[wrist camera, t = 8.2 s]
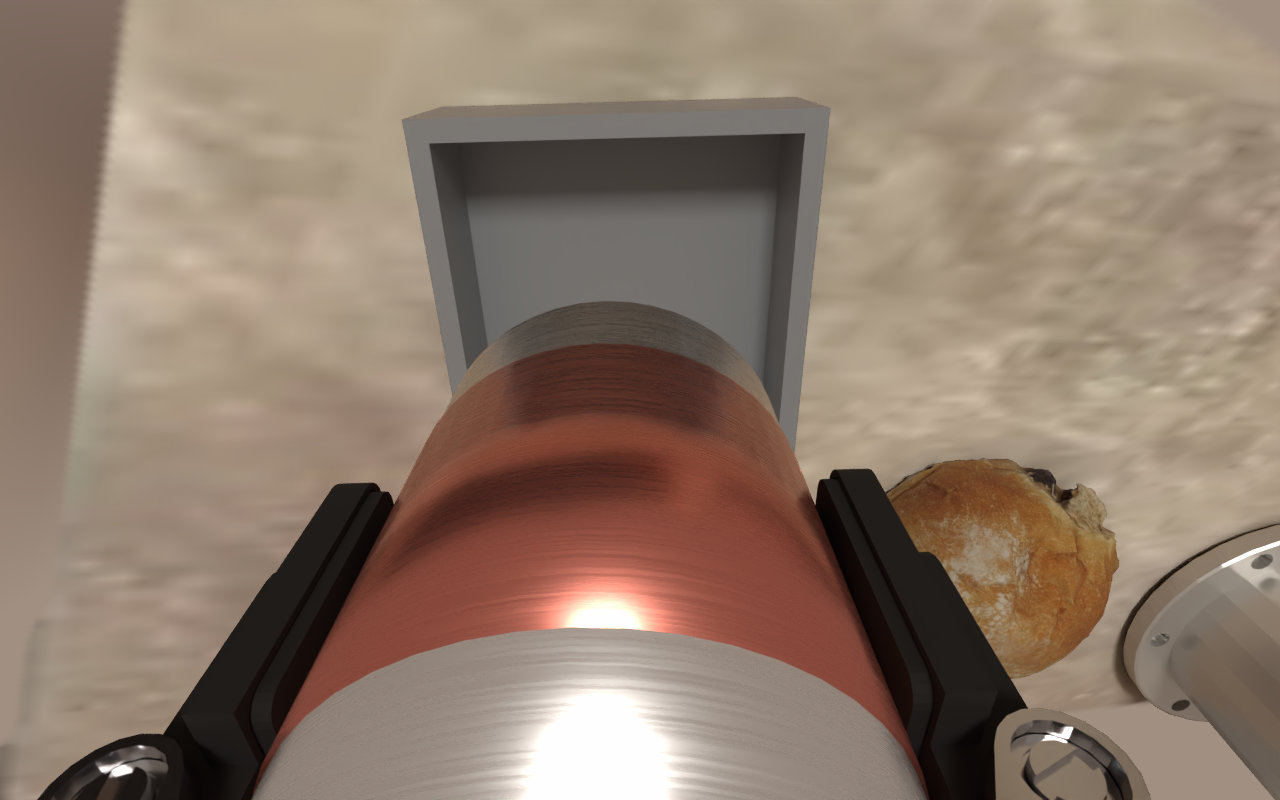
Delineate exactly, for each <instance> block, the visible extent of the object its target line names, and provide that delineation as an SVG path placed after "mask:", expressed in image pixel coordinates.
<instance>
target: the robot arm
mask: <svg viewBox="0 0 1280 800" xmlns="http://www.w3.org/2000/svg"><path fill="white" fill-rule="evenodd" d="M393 506H394V503H393V500H392V497H391V495H390V493H389V492H381V491H380V488H379V487H378V485H377V484H375V483H347V484H337V485H335V486H334V487H333V488H332V489H331V491H330V492H329V494H328V495H327V497H326V498H325V500H324V501H323V503H322V504H321V506H320V507H319V509H318V510H317V512H316V513H315V515H314V516H313V518H312V519H311V521H310V522H309V524H308V525H307V527H306V528H305V530H304V531H303V533H302V534H301V536H300V537H299V539H298V540H297V542H296V543H295V545H294V546H293V548H292V549H291V551H290V552H289V554H288V555H287V557H286V558H285V560H284V561H283V563H282V564H281V566H280V567H279V569H278V570H277V572H276V573H274V574H272V576H271V577H270V578H269V579H268V580H267V581H266V582H265V584H264V585H263V587H262V588H261V590H260V591H259V593H258V594H257V596H256V597H255V599H254V600H253V602H252V603H251V605H250V606H249V608H248V609H247V611H246V612H245V614H244V615H243V617H242V618H241V620H240V621H239V623H238V624H237V626H236V627H235V628H234V630H233V631H232V633H231V634H230V636H229V637H228V639H227V640H226V642H225V643H224V645H223V646H222V648H221V649H220V651H219V652H218V654H217V655H216V657H215V658H214V660H213V661H212V663H211V664H210V666H209V667H208V669H207V670H206V671H205V673H204V674H203V676H202V677H201V679H200V680H199V682H198V683H197V685H196V686H195V688H194V689H193V691H192V692H191V694H190V695H189V697H188V698H187V700H186V701H185V703H184V704H183V706H182V707H181V709H180V710H179V712H178V713H177V715H176V716H175V717H174V719H173V720H172V722H171V723H170V725H169V726H168V728H167V729H166V731H165V732H164V734H163V735H162V734H138V735H134V736H130V737H126V738H122V739H118V740H116V741H114V742H112V743H109V744H107V745H105V746H103V747H101V748H98V749H96V750H94V751H93V752H91V753H90V754H88V755H87V756H85V757H83V758H82V759H80V760H79V761H77V762H76V763H74V764H73V765H71V766H70V767H69V768H68V769H67V770H65V771H64V772H63V773H62V774H61V775H60V776H59V777H58V778H56V779H55V780H54V781H53V782H52V783H51V784H50V785H49V786H48V787H47V788H46V790H45V791H44V792H43V793H42V794H41V796H40V797H39V798H38V799H37V800H251V799H252V797H253V791H254V788H255V785H256V782H257V778H258V775H259V772H260V769H261V765H262V763H263V761H264V759H265V758H266V756H267V754H268V752H269V750H270V748H271V746H272V744H273V742H274V740H275V738H276V736H277V734H278V732H279V730H280V728H281V726H282V724H283V722H284V720H285V718H286V716H287V714H288V712H289V710H290V708H291V706H292V705H293V703H294V701H295V699H296V697H297V695H298V693H299V691H300V689H301V687H302V685H303V683H304V681H305V679H306V677H307V675H308V673H309V671H310V669H311V667H312V665H313V663H314V661H315V659H316V657H317V655H318V653H319V652H320V650H321V648H322V646H323V644H324V642H325V640H326V638H327V636H328V634H329V632H330V630H331V628H332V626H333V624H334V622H335V620H336V618H337V616H338V614H339V612H340V610H341V608H342V606H343V604H344V602H345V600H346V599H347V597H348V595H349V593H350V591H351V589H352V587H353V585H354V583H355V581H356V579H357V577H358V575H359V573H360V571H361V569H362V567H363V565H364V563H365V561H366V559H367V557H368V555H369V553H370V551H371V549H372V547H373V546H374V544H375V542H376V540H377V538H378V536H379V534H380V532H381V530H382V528H383V526H384V524H385V522H386V520H387V518H388V516H389V514H390V512H391V510H392V508H393ZM815 506H816V509H817V511H818V514H819V516H820V519H821V521H822V524H823V526H824V529H825V531H826V534H827V536H828V539H829V541H830V544H831V546H832V549H833V551H834V554H835V556H836V559H837V561H838V564H839V566H840V569H841V571H842V574H843V576H844V579H845V581H846V584H847V586H848V588H849V591H850V593H851V596H852V598H853V601H854V603H855V606H856V608H857V611H858V613H859V616H860V618H861V621H862V623H863V626H864V628H865V631H866V633H867V636H868V638H869V641H870V643H871V646H872V648H873V651H874V653H875V656H876V658H877V661H878V663H879V666H880V668H881V670H882V673H883V675H884V678H885V680H886V683H887V685H888V688H889V690H890V693H891V695H892V698H893V700H894V703H895V705H896V708H897V710H898V713H899V715H900V718H901V720H902V723H903V725H904V728H905V730H906V733H907V735H908V738H909V740H910V743H911V745H912V748H913V750H914V753H915V755H916V757H917V760H918V762H919V765H920V767H921V770H922V772H923V776H924V780H925V784H926V787H927V791H928V795H929V800H1151V798H1150V794H1149V792H1148V789H1147V787H1146V784H1145V782H1144V779H1143V777H1142V775H1141V773H1140V771H1139V770H1138V769H1137V767H1136V766H1135V765H1134V763H1133V762H1132V761H1131V759H1130V758H1129V757H1128V755H1127V754H1126V753H1125V752H1124V751H1123V750H1122V749H1121V748H1120V747H1119V746H1117V745H1116V744H1115V743H1114V742H1113V741H1112V740H1111V739H1110V738H1109V737H1108V736H1107V735H1105V734H1103V733H1102V732H1100V731H1099V730H1097V729H1096V728H1094V727H1092V726H1091V725H1089V724H1087V723H1086V722H1084V721H1082V720H1080V719H1077V718H1075V717H1072V716H1070V715H1068V714H1065V713H1063V712H1059V711H1053V710H1048V709H1043V708H1031V709H1028V707H1027V706H1026V704H1025V702H1024V701H1023V699H1022V697H1021V696H1020V694H1019V692H1018V691H1017V689H1016V687H1015V686H1014V684H1013V682H1012V681H1011V679H1010V677H1009V676H1008V674H1007V672H1006V671H1005V669H1004V667H1003V666H1002V664H1001V662H1000V661H999V659H998V657H997V656H996V654H995V652H994V651H993V649H992V647H991V646H990V644H989V642H988V641H987V639H986V637H985V636H984V634H983V632H982V631H981V629H980V627H979V626H978V624H977V622H976V621H975V619H974V617H973V615H972V614H971V612H970V610H969V609H968V607H967V605H966V604H965V602H964V600H963V599H962V597H961V595H960V594H959V592H958V590H957V589H956V587H955V585H954V584H953V582H952V580H951V579H950V577H949V575H948V574H947V572H946V570H945V569H944V567H943V565H942V564H941V562H940V561H939V560H938V558H937V557H936V556H935V555H934V554H932V553H930V552H918V550H917V548H916V546H915V544H914V543H913V541H912V539H911V537H910V536H909V534H908V532H907V530H906V529H905V527H904V525H903V523H902V522H901V520H900V518H899V516H898V514H897V513H896V511H895V509H894V507H893V506H892V504H891V502H890V500H889V499H888V497H887V495H886V493H885V492H884V490H883V488H882V486H881V485H880V483H879V481H878V479H877V477H876V476H875V474H874V473H873V471H872V470H870V469H841V470H833V471H832V473H831V475H830V479H821V480H820V481H819V484H818V490H817V497H816V505H815ZM1123 649H1124V665H1125V667H1126V670H1127V673H1128V675H1129V677H1130V678H1131V680H1132V681H1133V682H1134V684H1135V685H1136V686H1137V688H1138V689H1139V690H1140V692H1141V693H1142V694H1143V696H1144V697H1145V698H1146V699H1147V700H1149V701H1150V702H1151V703H1152V704H1153V705H1154V706H1155V707H1157V708H1159V709H1161V710H1162V711H1164V712H1166V713H1168V714H1171V715H1174V716H1178V717H1182V718H1185V719H1189V720H1196V721H1205V722H1210V724H1211V725H1212V726H1213V727H1214V729H1215V730H1216V731H1217V732H1218V733H1219V734H1220V735H1221V737H1222V738H1223V739H1224V740H1225V741H1226V743H1227V744H1228V745H1229V746H1230V747H1231V749H1232V750H1233V751H1234V752H1235V753H1236V754H1237V755H1238V757H1239V758H1240V759H1241V760H1242V761H1243V763H1244V764H1245V765H1246V766H1247V767H1248V768H1249V770H1250V771H1251V772H1252V773H1253V774H1254V775H1255V777H1256V778H1257V779H1258V780H1259V781H1260V783H1261V784H1262V785H1263V786H1264V787H1265V788H1266V789H1267V791H1268V792H1269V793H1270V794H1271V796H1272V797H1273V798H1274V799H1275V800H1280V525H1275V526H1272V527H1268V528H1265V529H1261V530H1258V531H1255V532H1251V533H1248V534H1245V535H1243V536H1241V537H1238V538H1236V539H1233V540H1231V541H1228V542H1226V543H1224V544H1221V545H1219V546H1217V547H1215V548H1214V549H1212V550H1210V551H1208V552H1206V553H1205V554H1203V555H1201V556H1199V557H1197V558H1195V559H1194V560H1192V561H1191V562H1189V563H1188V564H1187V565H1185V566H1184V567H1182V568H1181V569H1180V570H1178V571H1177V572H1175V573H1174V574H1173V575H1171V576H1170V577H1169V578H1168V579H1167V580H1166V581H1165V582H1164V583H1163V584H1162V585H1160V586H1159V587H1158V588H1157V589H1156V590H1155V591H1154V592H1153V593H1152V594H1151V595H1150V597H1149V598H1148V599H1147V600H1146V602H1145V603H1144V604H1143V605H1142V607H1141V608H1140V609H1139V610H1138V612H1137V614H1136V616H1135V618H1134V619H1133V621H1132V623H1131V625H1130V627H1129V629H1128V632H1127V636H1126V640H1125V643H1124V647H1123Z"/></svg>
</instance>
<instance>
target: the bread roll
mask: <svg viewBox="0 0 1280 800" xmlns="http://www.w3.org/2000/svg"><path fill="white" fill-rule="evenodd" d="M1076 485H1077V488H1076V489H1074V490H1073V489H1069V490H1062V489H1060V488H1059V487H1058V486H1057V485H1056V480H1055V478H1054V477H1053V475H1052V473H1051V472H1050V471H1049V470H1043V469H1033V468H1022V467H1020V466H1019V465H1018V464H1017V463H1015V462H1013V461H1011V460H1009V459H986V458H982V459H980V460H967V461H965V460H955V461H947V462H944V463H938V464H936V465H934V466H933V467H932V468H931V469H927V470H924V471H922V472H920V473H917V474H914V475H911V476H908V478H907V479H906V480H905V481H904V482H902V483H901V484H900V485H899V486H897V487H896V488H894V489H893V490H891V491H890V492H888V493H887V494H886V495H887V497H888V499H889V500H890V502H891V504H892V506H893V507H894V509H895V511H896V513H897V514H898V516H899V518H900V520H901V522H902V523H903V525H904V527H905V529H906V530H907V532H908V534H909V536H910V537H911V539H912V541H913V543H914V544H915V546H916V548H917V550H918V552H930V553H932V554H934V555H935V556H936V557H937V558H938V560H939V561H940V562H941V564H942V565H943V567H944V569H945V570H946V572H947V574H948V575H949V577H950V579H951V580H952V582H953V584H954V585H955V587H956V589H957V590H958V592H959V594H960V595H961V597H962V599H963V600H964V602H965V604H966V605H967V607H968V609H969V610H970V612H971V614H972V615H973V617H974V619H975V621H976V622H977V624H978V626H979V627H980V629H981V631H982V632H983V634H984V636H985V637H986V639H987V641H988V642H989V644H990V646H991V647H992V649H993V651H994V652H995V654H996V656H997V657H998V659H999V661H1000V662H1001V664H1002V666H1003V667H1004V669H1005V671H1006V672H1007V674H1008V676H1009V677H1010V679H1013V678H1022V677H1026V676H1030V675H1032V674H1034V673H1038V672H1040V671H1042V670H1044V669H1046V668H1047V667H1049V666H1051V665H1053V664H1054V663H1056V662H1058V661H1059V660H1061V659H1063V658H1064V657H1065V656H1067V655H1068V654H1069V653H1070V652H1072V651H1073V650H1074V649H1075V648H1076V647H1077V646H1078V645H1079V643H1080V642H1081V641H1082V640H1083V639H1085V638H1086V637H1088V636H1089V634H1090V632H1091V631H1092V629H1093V628H1094V627H1095V625H1096V624H1097V623H1098V621H1099V620H1100V619H1101V617H1102V615H1103V613H1104V609H1105V607H1106V604H1107V601H1108V597H1109V592H1110V587H1111V582H1112V575H1113V573H1114V572H1115V571H1116V570H1117V569H1118V567H1119V560H1118V558H1117V553H1116V548H1115V547H1116V540H1115V539H1114V535H1115V533H1113V532H1112V531H1110V530H1108V529H1106V528H1104V527H1102V523H1103V521H1104V520H1105V518H1106V516H1107V513H1106V509H1105V506H1104V503H1102V502H1101V501H1100V500H1099V498H1098V497H1097V495H1096V493H1095V491H1094V490H1093V489H1091V488H1087V487H1085V486H1084V485H1082V484H1076Z"/></svg>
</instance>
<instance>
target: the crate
mask: <svg viewBox="0 0 1280 800" xmlns="http://www.w3.org/2000/svg"><path fill="white" fill-rule="evenodd" d="M829 116H830V108H829V107H826V106H823V105H820V104H817V103H814V102H810V101H807V100H804V99H801V98H798V97H786V98H749V99H713V100H677V101H641V102H604V103H568V104H532V105H495V106H459V107H440V108H437V109H434V110H430V111H427V112H424V113H421V114H418V115H415V116H412V117H409V118H405V119H402V123H403V128H404V134H405V139H406V145H407V150H408V156H409V161H410V167H411V172H412V177H413V183H414V188H415V194H416V199H417V205H418V210H419V216H420V221H421V227H422V232H423V238H424V243H425V248H426V254H427V259H428V265H429V270H430V276H431V281H432V287H433V292H434V298H435V303H436V309H437V314H438V319H439V325H440V330H441V336H442V341H443V347H444V352H445V358H446V363H447V369H448V374H449V380H450V385H451V390H452V396H453V395H454V393H455V391H456V389H457V387H458V385H459V383H460V382H461V380H462V378H463V376H464V375H465V373H466V371H467V370H468V369H469V367H470V366H471V365H472V363H473V362H474V361H475V360H476V358H477V357H478V356H479V355H480V354H481V353H482V352H483V351H484V350H485V349H486V348H487V347H488V346H489V345H490V344H491V343H492V342H493V341H494V340H496V339H497V338H499V337H500V336H501V335H503V334H504V333H506V332H507V331H508V330H510V329H511V328H513V327H514V326H516V325H518V324H520V323H522V322H524V321H526V320H528V319H530V318H532V317H534V316H537V315H539V314H542V313H545V312H548V311H550V310H553V309H556V308H561V307H565V306H570V305H574V304H579V303H589V302H600V301H615V302H632V303H638V304H644V305H651V306H655V307H658V308H662V309H665V310H669V311H672V312H676V313H678V314H680V315H682V316H685V317H687V318H689V319H692V320H694V321H696V322H698V323H700V324H701V325H703V326H705V327H706V328H708V329H710V330H711V331H713V332H715V333H716V334H718V335H719V336H720V337H721V338H723V339H724V340H725V341H726V342H728V343H729V344H730V345H731V346H733V347H734V348H735V349H736V350H737V351H738V353H739V354H740V355H741V356H742V357H743V358H744V359H745V360H746V361H747V362H748V363H749V365H750V366H751V368H752V369H753V370H754V372H755V373H756V375H757V376H758V378H759V379H760V381H761V383H762V385H763V387H764V389H765V391H766V393H767V395H768V397H769V400H770V402H771V405H772V407H773V410H774V412H775V415H776V417H777V420H778V422H779V425H780V427H781V429H782V431H783V432H784V434H785V436H786V438H787V440H788V442H789V444H790V446H791V448H792V450H793V452H794V450H795V441H796V431H797V421H798V412H799V402H800V393H801V383H802V374H803V364H804V355H805V345H806V336H807V326H808V317H809V307H810V298H811V288H812V278H813V269H814V259H815V250H816V240H817V231H818V221H819V212H820V202H821V193H822V183H823V174H824V164H825V154H826V145H827V135H828V126H829Z"/></svg>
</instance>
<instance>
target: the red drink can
mask: <svg viewBox="0 0 1280 800" xmlns="http://www.w3.org/2000/svg"><path fill="white" fill-rule="evenodd" d="M251 800H929V795H928V791H927V787H926V784H925V780H924V776H923V772H922V770H921V767H920V765H919V762H918V760H917V757H916V755H915V753H914V750H913V748H912V745H911V743H910V740H909V738H908V735H907V733H906V730H905V728H904V725H903V723H902V720H901V718H900V715H899V713H898V710H897V708H896V705H895V703H894V700H893V698H892V695H891V693H890V690H889V688H888V685H887V683H886V680H885V678H884V675H883V673H882V670H881V668H880V666H879V663H878V661H877V658H876V656H875V653H874V651H873V648H872V646H871V643H870V641H869V638H868V636H867V633H866V631H865V628H864V626H863V623H862V621H861V618H860V616H859V613H858V611H857V608H856V606H855V603H854V601H853V598H852V596H851V593H850V591H849V588H848V586H847V584H846V581H845V579H844V576H843V574H842V571H841V569H840V566H839V564H838V561H837V559H836V556H835V554H834V551H833V549H832V546H831V544H830V541H829V539H828V536H827V534H826V531H825V529H824V526H823V524H822V521H821V519H820V516H819V514H818V511H817V509H816V506H815V504H814V502H813V499H812V497H811V494H810V492H809V489H808V487H807V484H806V482H805V479H804V477H803V474H802V472H801V469H800V467H799V464H798V462H797V459H796V457H795V454H794V452H793V450H792V448H791V446H790V444H789V442H788V440H787V438H786V436H785V434H784V432H783V431H782V429H781V427H780V425H779V422H778V420H777V417H776V415H775V412H774V410H773V407H772V405H771V402H770V400H769V397H768V395H767V393H766V391H765V389H764V387H763V385H762V383H761V381H760V379H759V378H758V376H757V375H756V373H755V372H754V370H753V369H752V368H751V366H750V365H749V363H748V362H747V361H746V360H745V359H744V358H743V357H742V356H741V355H740V354H739V353H738V351H737V350H736V349H735V348H734V347H733V346H731V345H730V344H729V343H728V342H726V341H725V340H724V339H723V338H721V337H720V336H719V335H718V334H716V333H715V332H713V331H711V330H710V329H708V328H706V327H705V326H703V325H701V324H700V323H698V322H696V321H694V320H692V319H689V318H687V317H685V316H682V315H680V314H678V313H676V312H672V311H669V310H665V309H662V308H658V307H655V306H651V305H644V304H638V303H632V302H615V301H600V302H589V303H579V304H574V305H570V306H565V307H561V308H556V309H553V310H550V311H548V312H545V313H542V314H539V315H537V316H534V317H532V318H530V319H528V320H526V321H524V322H522V323H520V324H518V325H516V326H514V327H513V328H511V329H510V330H508V331H507V332H506V333H504V334H503V335H501V336H500V337H499V338H497V339H496V340H494V341H493V342H492V343H491V344H490V345H489V346H488V347H487V348H486V349H485V350H484V351H483V352H482V353H481V354H480V355H479V356H478V357H477V358H476V360H475V361H474V362H473V363H472V365H471V366H470V367H469V369H468V370H467V371H466V373H465V375H464V376H463V378H462V380H461V382H460V383H459V385H458V387H457V389H456V391H455V393H454V395H453V397H452V399H451V401H450V403H449V405H448V407H447V409H446V411H445V413H444V415H443V416H442V418H441V419H440V420H439V421H438V423H437V424H436V426H435V427H434V429H433V431H432V433H431V435H430V436H429V438H428V440H427V442H426V443H425V445H424V447H423V449H422V451H421V453H420V455H419V457H418V459H417V461H416V463H415V465H414V467H413V469H412V471H411V473H410V475H409V477H408V479H407V481H406V483H405V485H404V487H403V489H402V491H401V493H400V494H399V496H398V498H397V500H396V502H395V504H394V506H393V508H392V510H391V512H390V514H389V516H388V518H387V520H386V522H385V524H384V526H383V528H382V530H381V532H380V534H379V536H378V538H377V540H376V542H375V544H374V546H373V547H372V549H371V551H370V553H369V555H368V557H367V559H366V561H365V563H364V565H363V567H362V569H361V571H360V573H359V575H358V577H357V579H356V581H355V583H354V585H353V587H352V589H351V591H350V593H349V595H348V597H347V599H346V600H345V602H344V604H343V606H342V608H341V610H340V612H339V614H338V616H337V618H336V620H335V622H334V624H333V626H332V628H331V630H330V632H329V634H328V636H327V638H326V640H325V642H324V644H323V646H322V648H321V650H320V652H319V653H318V655H317V657H316V659H315V661H314V663H313V665H312V667H311V669H310V671H309V673H308V675H307V677H306V679H305V681H304V683H303V685H302V687H301V689H300V691H299V693H298V695H297V697H296V699H295V701H294V703H293V705H292V706H291V708H290V710H289V712H288V714H287V716H286V718H285V720H284V722H283V724H282V726H281V728H280V730H279V732H278V734H277V736H276V738H275V740H274V742H273V744H272V746H271V748H270V750H269V752H268V754H267V756H266V758H265V759H264V761H263V763H262V765H261V769H260V772H259V775H258V778H257V782H256V785H255V788H254V791H253V797H252V799H251Z"/></svg>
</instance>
